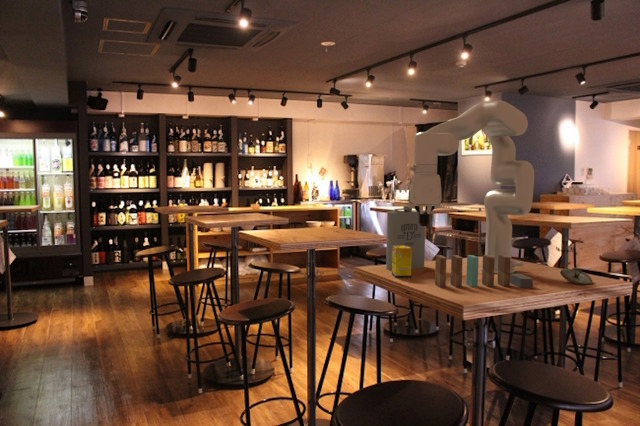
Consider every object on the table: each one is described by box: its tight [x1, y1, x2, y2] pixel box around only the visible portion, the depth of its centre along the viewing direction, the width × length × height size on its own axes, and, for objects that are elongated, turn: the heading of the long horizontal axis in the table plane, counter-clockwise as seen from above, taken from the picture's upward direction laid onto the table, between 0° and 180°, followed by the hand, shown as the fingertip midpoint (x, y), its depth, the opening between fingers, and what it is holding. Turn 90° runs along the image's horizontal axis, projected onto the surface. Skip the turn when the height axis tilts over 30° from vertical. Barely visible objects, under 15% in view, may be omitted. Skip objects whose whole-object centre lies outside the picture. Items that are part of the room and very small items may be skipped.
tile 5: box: [496, 255, 512, 288], centre depth 178 cm, size 2×5×10 cm, turn 5°
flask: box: [385, 204, 426, 271], centre depth 208 cm, size 17×5×25 cm, turn 117°
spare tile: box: [465, 254, 479, 288], centre depth 177 cm, size 2×5×10 cm, turn 5°
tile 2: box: [450, 254, 464, 289], centre depth 177 cm, size 2×5×10 cm, turn 5°
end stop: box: [510, 273, 534, 289], centre depth 179 cm, size 4×9×3 cm, turn 5°
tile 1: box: [434, 254, 447, 289], centre depth 176 cm, size 2×5×10 cm, turn 5°
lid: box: [559, 268, 593, 286], centre depth 184 cm, size 11×10×5 cm
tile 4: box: [481, 254, 495, 288], centre depth 178 cm, size 2×5×10 cm, turn 5°
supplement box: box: [391, 246, 412, 279], centre depth 192 cm, size 6×6×11 cm
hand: (423, 225), depth 174 cm, fingers closed
